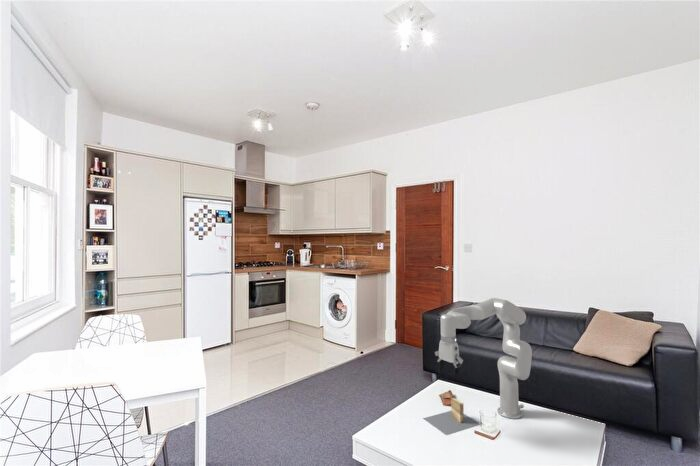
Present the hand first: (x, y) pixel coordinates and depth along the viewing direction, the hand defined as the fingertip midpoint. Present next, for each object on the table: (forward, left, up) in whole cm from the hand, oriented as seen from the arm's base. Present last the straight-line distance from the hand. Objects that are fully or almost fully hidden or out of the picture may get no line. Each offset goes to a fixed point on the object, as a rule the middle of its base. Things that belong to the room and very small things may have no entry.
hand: (448, 372), depth 181 cm
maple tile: (-11, -6, -29) cm, 32 cm away
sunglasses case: (-23, -27, -31) cm, 47 cm away
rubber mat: (-7, -6, -30) cm, 31 cm away
